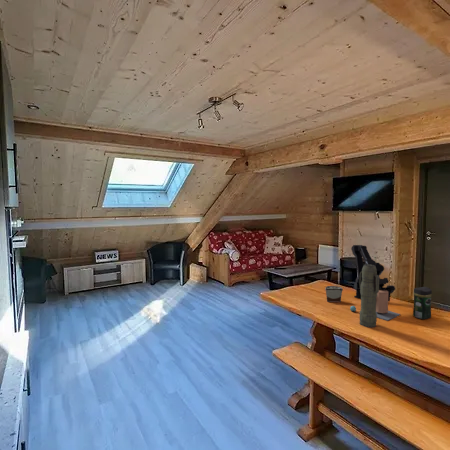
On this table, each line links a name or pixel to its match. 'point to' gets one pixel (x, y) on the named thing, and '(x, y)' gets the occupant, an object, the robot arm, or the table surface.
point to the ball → (353, 308)
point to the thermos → (368, 295)
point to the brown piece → (382, 301)
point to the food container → (333, 293)
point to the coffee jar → (422, 303)
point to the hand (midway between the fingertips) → (382, 301)
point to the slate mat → (387, 315)
